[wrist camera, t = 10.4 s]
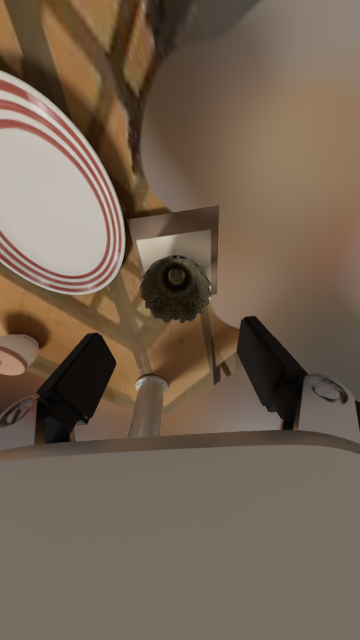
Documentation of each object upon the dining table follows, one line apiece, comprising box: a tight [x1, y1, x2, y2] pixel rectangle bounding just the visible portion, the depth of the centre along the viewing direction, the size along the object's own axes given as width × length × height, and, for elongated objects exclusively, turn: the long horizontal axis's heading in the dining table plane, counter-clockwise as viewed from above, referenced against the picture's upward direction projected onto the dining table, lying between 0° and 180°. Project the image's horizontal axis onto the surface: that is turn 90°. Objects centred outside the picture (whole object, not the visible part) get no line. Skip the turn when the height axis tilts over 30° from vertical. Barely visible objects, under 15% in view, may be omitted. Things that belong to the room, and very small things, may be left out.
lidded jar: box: [0, 334, 39, 375], centre depth 37 cm, size 11×11×9 cm
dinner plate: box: [0, 70, 125, 295], centre depth 24 cm, size 28×27×3 cm
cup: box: [140, 255, 211, 323], centre depth 18 cm, size 8×7×8 cm
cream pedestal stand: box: [127, 206, 219, 300], centre depth 25 cm, size 16×16×10 cm
